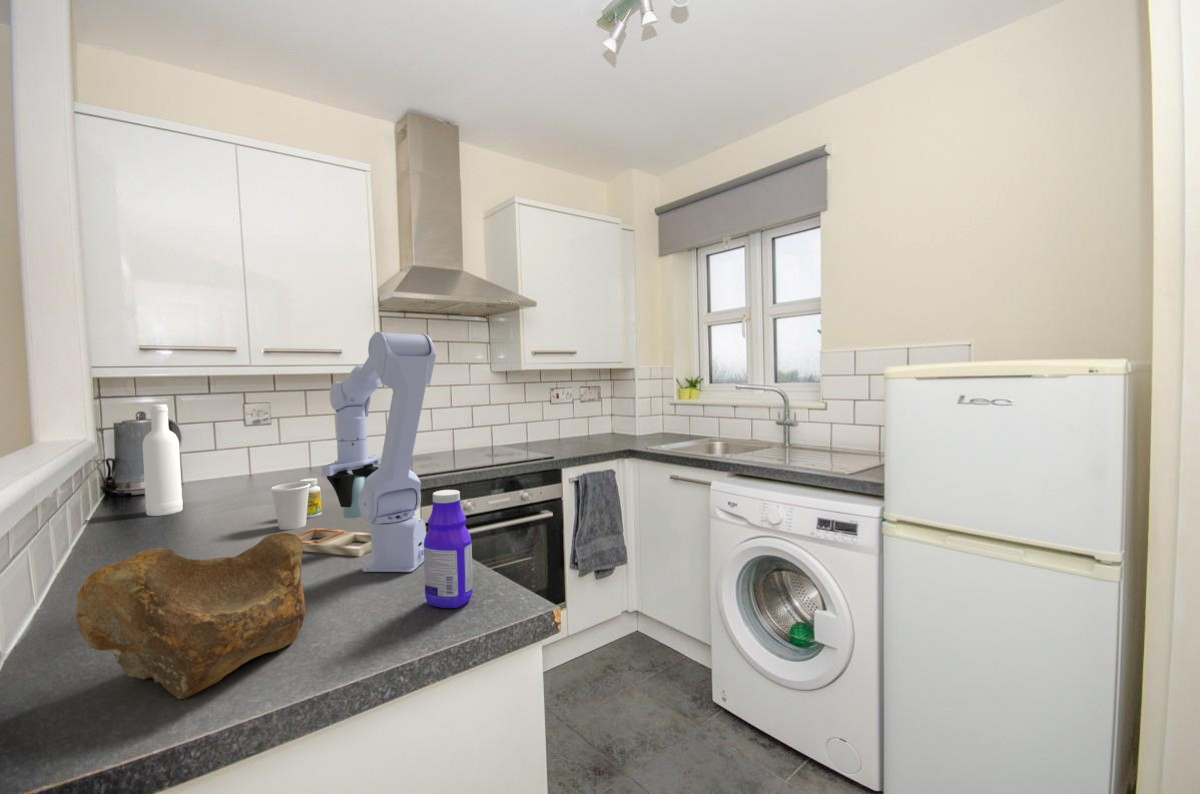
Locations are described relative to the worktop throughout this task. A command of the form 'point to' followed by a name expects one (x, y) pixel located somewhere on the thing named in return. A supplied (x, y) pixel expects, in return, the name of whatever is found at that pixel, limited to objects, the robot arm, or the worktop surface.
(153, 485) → the bottle
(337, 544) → the wooden slot frame
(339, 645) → the worktop surface
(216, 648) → the rough brown rock
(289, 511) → the dixie cup
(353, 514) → the peg
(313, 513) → the supplement bottle
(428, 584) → the bottle
